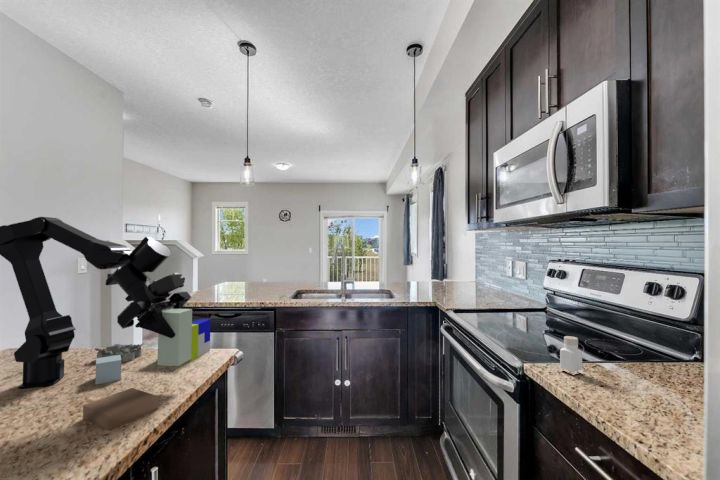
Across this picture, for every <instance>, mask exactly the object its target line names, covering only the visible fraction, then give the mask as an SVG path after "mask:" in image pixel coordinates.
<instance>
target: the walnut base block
mask: <svg viewBox="0 0 720 480" xmlns="http://www.w3.org/2000/svg"><path fill="white" fill-rule="evenodd" d="M159 398H160V397H159V395H156V394H153V393H150V392H146V391H144V390H139V389H137V388H134V387H130V388H128V389H125V390H121V391H120V392H119V391H118V392H117V393H114V394H110V395H108V396H105V397H102V398H100V399H97V400H94V401H91V402H88V403H86V404H83V405H82V406H83V407H82V419H83V420H84V421H87V422H89V423H92V424H93V425H96V426H99V427H101V428H104V429H106V430H107V431H112V430H114V429H117V428H119V427H120V426H123V425H125V424H128V423H130V422H132V421H134V420H137V419H139V418H141V417H144V416H146V415H148V414H150V413H153V412H155V411H157V410H159V401H160V400H159Z"/></svg>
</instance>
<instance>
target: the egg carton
mask: <svg viewBox="0 0 720 480" xmlns="http://www.w3.org/2000/svg"><path fill="white" fill-rule="evenodd" d="M143 345H144V342H143V343H140V344H139V343H138V344H133V343H130V344H120V343H116V344H115V343H114V344H112V345H110V346H106V348H105V347H104V348H99V347H98V348H97V347H96V348H94V351H96V358H102V357H109V356H115V355H121V363H122V362H123V363H124V362H125V363H126V362H129V361H134V360H135V359H136V358H137V357H142V347H143Z"/></svg>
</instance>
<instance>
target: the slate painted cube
mask: <svg viewBox="0 0 720 480" xmlns="http://www.w3.org/2000/svg"><path fill="white" fill-rule="evenodd" d="M116 381H122V360H121V355H115V356H109V357H102V358H97V357H96V359H95V384H94V385H101V384H106V383H111V382H116Z"/></svg>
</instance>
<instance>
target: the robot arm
mask: <svg viewBox="0 0 720 480" xmlns="http://www.w3.org/2000/svg"><path fill="white" fill-rule="evenodd" d="M51 239H52V240H54V241H56V242H58V243H60V244H62V245H64V246H66V247H69V248H70V249H72V250H75V251H77V252H78V253H80V254H82V255H83V257H84V259H85V261H87V262H88V263H89V264H91V265H92V266H93V267H95V268H96V269H97V270H112V269H116V270H115V271H114V272H112V273H108V274H107V278H106V280H105V286H113V285H114V286H115V285H118V287H120V288H121V289H122V290H123V291H124V293H125V294H126V295H127V296H126V297H124V299H125V300H126V302H128V303H129V302H130V303H129V304H128V305H127V306H126V307H125V308H124V309H123V310H122V311H121V312H120V313H119V314H118V316H117V317H116V318H117V319H116V320H117V321H116V323H117V325H119V326H120V328H121V329H127V328H130V327H133V325H134V323H135V318H137V321H138V322H137V323H136V324H135V328H141V329H144V330H148V331H150V332H153V333H156V334H157V335H158V334H161V335H164V336H166V337H169V338H173V337H174V336H175V333H174V331H173V330H172V328H171V327H170V326H169V324H168V323H167V322H166V320H165V319H164V317H163V316H162V311H166V310H169V309H184V306H185V305H186V303H187V302H189V300H191V299H192V296H191V295H190V293H188V291H177V292H174V293H173V294H172V292H173V291H175V290H177V289H180V288H183V287H185V283H186V281H185V280H186V277H185V276H183V274H182V273H181V274H180V272H173V273H172V274H169V275H166V276H164V277H162V278H160V279H151V278H150V277H149V276H148V275H147V274H146V273H154V272H155V271H156V270H157V269H158V268H159V267H160V266H161V265H162V264H163V263H164V262H165V261H166V260H167V259H168V258H169V257H170V256H171V254H172V252H171V250H170V249H169V248H168V247H167V245H164V244H163V243H161V242H160V241H158V240H155V239H154V238H153V237H151V236H144V237H143V239H142V240H141V241H140V243H139V244H138V245H137V246H136V247H135V248H134V249H133V250H131V249H130V248H129V247H128V246H127V245H124V244H120V243H116V242H112V241H107V240H103V239H99V238H96V237H95V236H93V235H90V234H88V233H87V232H84V231H82V230H80V229H79V228H76V227H74V226H72V225H70V224H68V223H65V222H63V220H61V219H60V218H57V217H52V216H51V217H49V216H38V217H34V218H32V219H30V220H25V221H21V222H16V223H11V224H7V225H6V224H4V225H0V256H1V257H2V258H4V259H6V261H8V262H9V263H10V264H11V266H12V269H13V273H14V276H15V279H16V281H17V285H18V288H19V291H20V295H21V298H22V299H23V303H24V305H25V309H26V312H27V315H28V319H29V320H28V322H27V325H26V327H25V331H24V337H25V341H24V342H23V343H22V344H21V345H20V346H19V348H17V349H16V351H14V352H13V356H14V359H15V362H16V363H22V383H21V384H20V385H18V389H26V388H34V387H35V388H36V387H42V386H51V385H55V384H56V383H57V382H59V380H61V379H62V378H63V377H64V376H65V359H64V358H63V354H64V353H67V352H69V349H70V347H71V344H72V342H73V340H74V339H75V336H76V335H75V331H76V327H75V326H74V324H73V320H72V317H71V315H70V314H67V315H62V314H61V313H60V312H58V311H57V308H56V305H55V302H54V299H53V296H52V292H51V290H50V287H49V284H48V280H47V278H46V275H45V272H44V269H43V266H42V263H41V260H40V257H41V254H42V252H43V250H44V242H47V241H49V240H51ZM168 297H169V298H168Z"/></svg>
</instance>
